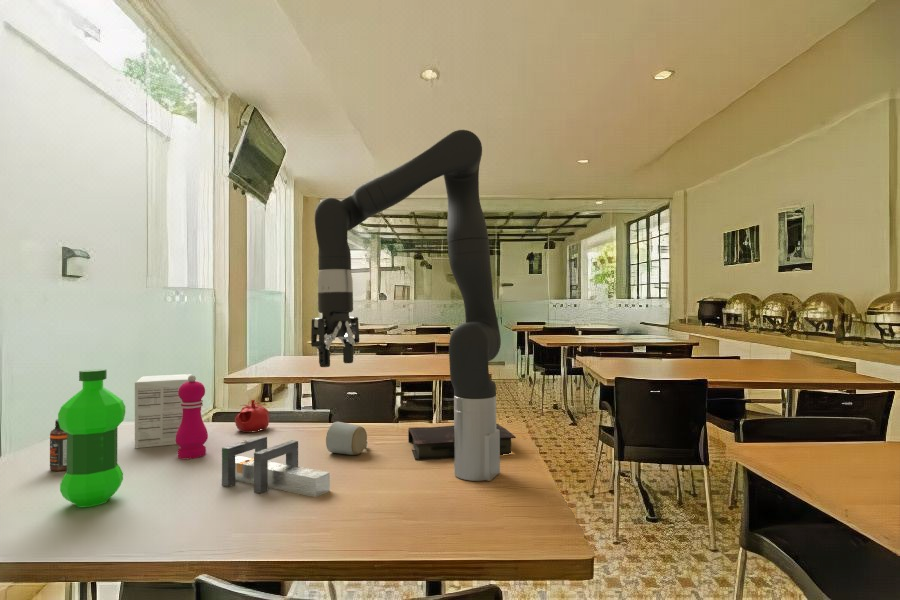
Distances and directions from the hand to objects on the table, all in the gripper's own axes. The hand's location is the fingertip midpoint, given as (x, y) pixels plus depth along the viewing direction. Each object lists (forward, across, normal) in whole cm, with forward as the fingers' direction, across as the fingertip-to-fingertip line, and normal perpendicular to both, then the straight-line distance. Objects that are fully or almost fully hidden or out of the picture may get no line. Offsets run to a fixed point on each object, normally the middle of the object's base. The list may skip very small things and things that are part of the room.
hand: (337, 365), depth 112 cm
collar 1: (+24, -9, +18) cm, 31 cm away
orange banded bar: (+24, -9, +10) cm, 28 cm away
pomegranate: (+23, +25, +50) cm, 60 cm away
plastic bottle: (+24, -31, +35) cm, 52 cm away
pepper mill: (+23, -1, +44) cm, 49 cm away
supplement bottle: (+23, -20, +62) cm, 69 cm away
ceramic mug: (+24, +16, +9) cm, 31 cm away
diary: (+25, +30, -16) cm, 42 cm away
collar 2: (+24, -10, +9) cm, 27 cm away
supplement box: (+23, +7, +63) cm, 67 cm away
